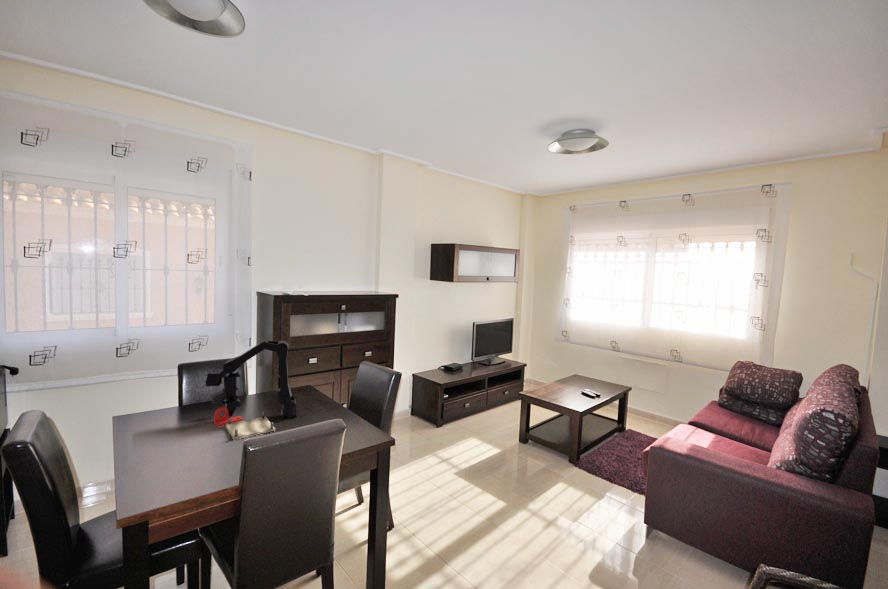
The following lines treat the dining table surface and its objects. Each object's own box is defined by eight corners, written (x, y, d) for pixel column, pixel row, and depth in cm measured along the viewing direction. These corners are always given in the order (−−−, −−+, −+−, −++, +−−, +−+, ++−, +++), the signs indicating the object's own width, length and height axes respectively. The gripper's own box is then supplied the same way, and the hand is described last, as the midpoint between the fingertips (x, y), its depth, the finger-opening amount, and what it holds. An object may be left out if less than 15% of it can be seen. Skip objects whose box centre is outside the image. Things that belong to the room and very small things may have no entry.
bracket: (217, 427, 189) (217, 411, 189) (214, 424, 192) (214, 408, 192) (243, 420, 198) (243, 405, 198) (239, 417, 201) (240, 402, 201)
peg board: (265, 419, 201) (265, 410, 201) (275, 431, 187) (275, 422, 187) (225, 426, 190) (225, 417, 190) (233, 440, 176) (233, 431, 176)
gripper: (208, 382, 198) (208, 413, 199) (214, 393, 184) (214, 426, 185) (233, 379, 205) (233, 408, 206) (241, 389, 190) (241, 421, 192)
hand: (230, 416), depth 197 cm, fingers closed on bracket
